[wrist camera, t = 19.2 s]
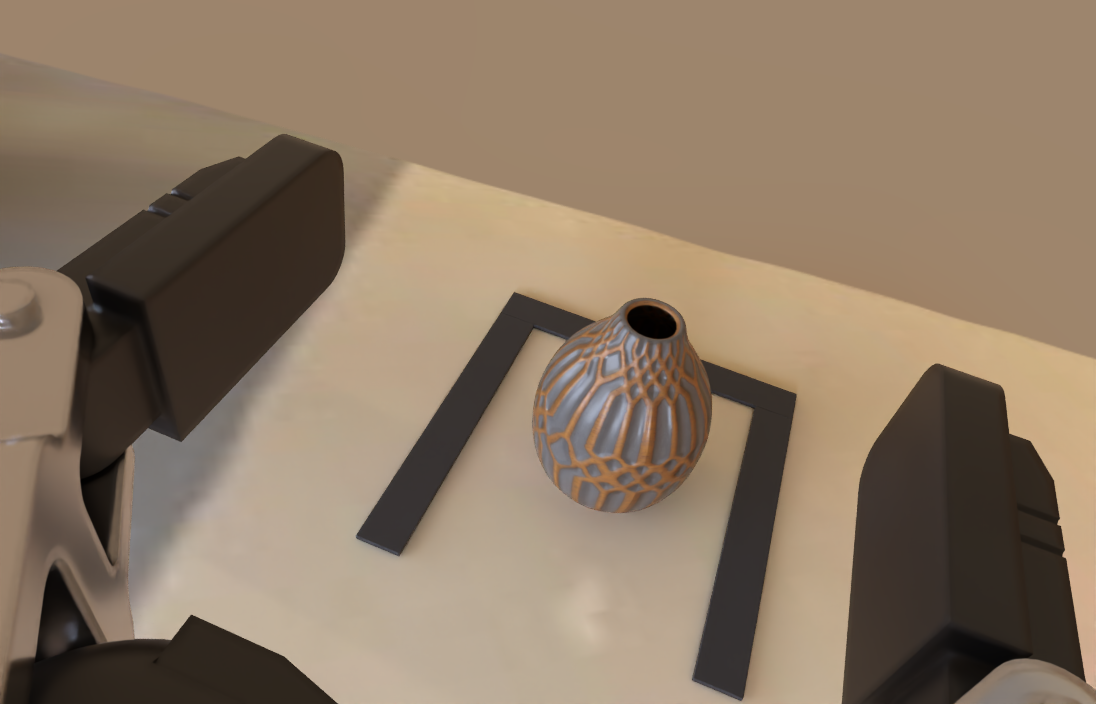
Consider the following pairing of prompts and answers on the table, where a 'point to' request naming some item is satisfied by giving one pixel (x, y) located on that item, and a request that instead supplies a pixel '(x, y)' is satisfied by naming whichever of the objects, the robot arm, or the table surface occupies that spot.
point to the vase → (623, 409)
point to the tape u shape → (751, 509)
